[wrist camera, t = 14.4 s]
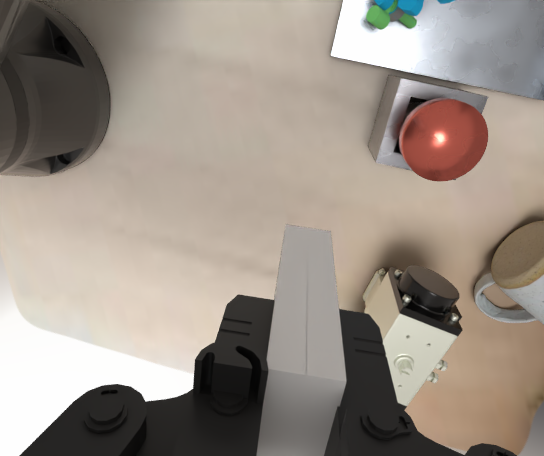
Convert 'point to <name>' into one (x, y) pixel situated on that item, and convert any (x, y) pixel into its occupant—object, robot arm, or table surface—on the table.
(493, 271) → the ceramic mug
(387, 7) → the blue lobed star wheel
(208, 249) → the table surface
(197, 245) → the table surface
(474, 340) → the table surface
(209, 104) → the table surface
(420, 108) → the plunger
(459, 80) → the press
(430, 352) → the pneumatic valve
